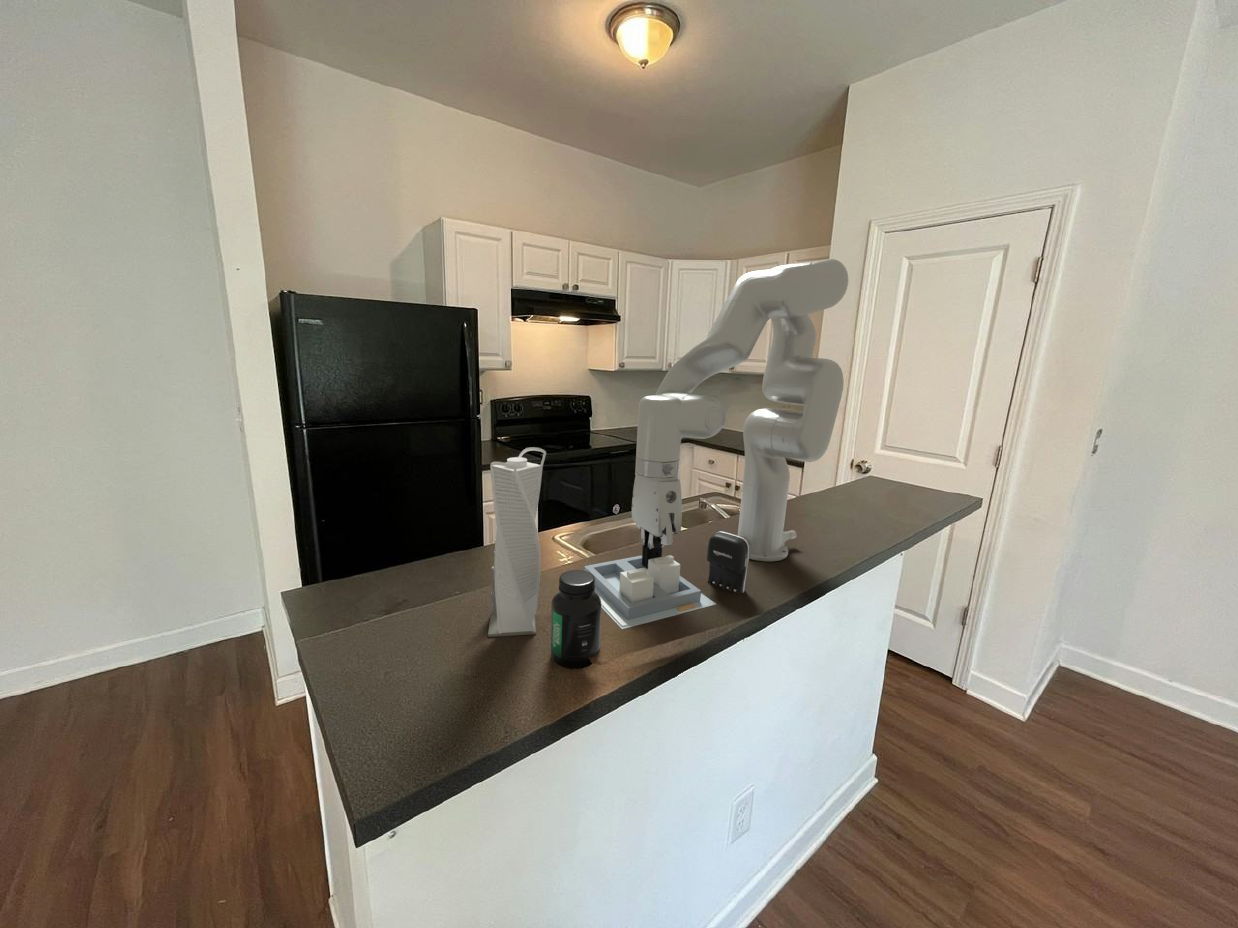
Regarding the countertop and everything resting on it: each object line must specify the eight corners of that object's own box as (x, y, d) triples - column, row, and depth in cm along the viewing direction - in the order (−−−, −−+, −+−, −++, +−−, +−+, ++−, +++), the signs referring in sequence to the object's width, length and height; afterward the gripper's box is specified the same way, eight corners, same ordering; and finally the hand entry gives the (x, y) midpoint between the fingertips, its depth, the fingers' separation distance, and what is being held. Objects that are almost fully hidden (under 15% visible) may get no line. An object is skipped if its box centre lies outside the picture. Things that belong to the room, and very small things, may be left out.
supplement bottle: (552, 673, 64) (553, 590, 62) (549, 643, 71) (549, 567, 68) (603, 668, 66) (606, 587, 63) (595, 639, 72) (597, 565, 70)
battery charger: (700, 592, 88) (705, 533, 85) (711, 585, 91) (716, 528, 88) (735, 606, 84) (742, 544, 81) (745, 598, 86) (752, 538, 84)
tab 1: (639, 595, 82) (641, 563, 81) (652, 606, 79) (654, 573, 78) (618, 600, 81) (620, 567, 79) (630, 611, 77) (632, 578, 76)
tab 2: (665, 581, 88) (667, 551, 87) (678, 591, 85) (680, 560, 83) (646, 585, 86) (648, 555, 85) (659, 595, 83) (661, 564, 81)
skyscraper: (544, 609, 80) (545, 442, 74) (545, 637, 72) (547, 454, 66) (491, 612, 79) (488, 442, 72) (487, 641, 71) (482, 453, 64)
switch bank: (652, 564, 98) (653, 548, 98) (715, 612, 81) (717, 593, 81) (570, 581, 90) (570, 564, 89) (621, 637, 73) (622, 616, 72)
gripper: (700, 476, 79) (692, 579, 83) (653, 457, 92) (647, 547, 96) (662, 480, 76) (655, 587, 80) (618, 460, 89) (614, 553, 93)
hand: (651, 565), depth 88 cm, fingers closed
